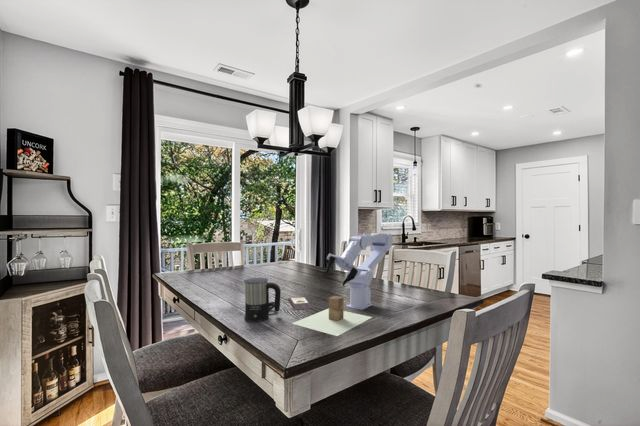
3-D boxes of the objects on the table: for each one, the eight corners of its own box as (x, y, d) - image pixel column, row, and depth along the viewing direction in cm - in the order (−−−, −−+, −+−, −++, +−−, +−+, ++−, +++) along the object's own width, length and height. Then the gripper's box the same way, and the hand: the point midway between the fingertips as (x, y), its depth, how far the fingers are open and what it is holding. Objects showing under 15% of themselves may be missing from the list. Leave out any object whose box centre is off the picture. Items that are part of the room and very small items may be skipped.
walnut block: (334, 316, 126) (334, 295, 126) (343, 318, 124) (343, 297, 124) (328, 319, 123) (328, 297, 123) (337, 321, 121) (337, 299, 121)
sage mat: (329, 308, 137) (329, 307, 137) (372, 318, 125) (372, 317, 125) (291, 324, 118) (291, 323, 118) (337, 337, 106) (337, 336, 106)
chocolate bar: (295, 309, 134) (288, 298, 152) (295, 312, 134) (288, 300, 152) (316, 308, 137) (306, 297, 154) (316, 310, 137) (306, 299, 154)
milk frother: (245, 323, 119) (245, 283, 119) (240, 311, 134) (240, 275, 134) (283, 318, 125) (283, 280, 125) (274, 307, 139) (274, 272, 139)
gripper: (336, 241, 132) (320, 263, 123) (368, 259, 129) (354, 283, 120) (332, 252, 137) (316, 274, 128) (362, 269, 134) (349, 293, 125)
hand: (334, 279), depth 124 cm, fingers open, 7 cm apart
